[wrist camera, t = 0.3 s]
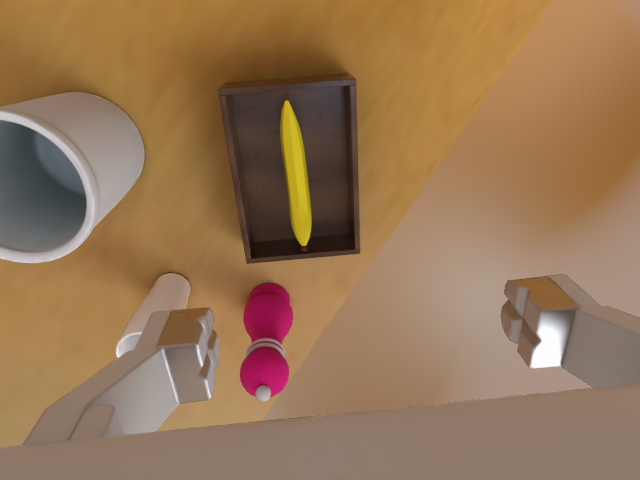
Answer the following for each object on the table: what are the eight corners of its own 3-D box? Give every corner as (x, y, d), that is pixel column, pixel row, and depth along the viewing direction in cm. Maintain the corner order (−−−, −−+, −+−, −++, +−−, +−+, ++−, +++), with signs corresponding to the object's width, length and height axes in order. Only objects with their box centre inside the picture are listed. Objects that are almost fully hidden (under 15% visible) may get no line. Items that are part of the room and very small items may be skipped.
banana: (298, 92, 53) (299, 100, 48) (313, 230, 62) (316, 250, 56) (274, 94, 53) (273, 103, 48) (293, 232, 62) (293, 253, 56)
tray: (224, 83, 53) (218, 89, 48) (349, 73, 53) (355, 78, 48) (249, 245, 63) (246, 263, 58) (354, 235, 63) (360, 253, 58)
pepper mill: (286, 275, 66) (286, 369, 48) (297, 313, 69) (300, 414, 51) (240, 285, 66) (222, 382, 48) (253, 322, 69) (241, 426, 51)
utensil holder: (0, 135, 54) (-118, 181, 38) (80, 57, 50) (-13, 72, 35) (95, 220, 60) (27, 289, 44) (173, 154, 56) (129, 205, 41)
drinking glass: (176, 259, 63) (146, 322, 50) (205, 291, 66) (184, 359, 52) (140, 281, 64) (102, 349, 51) (171, 312, 67) (142, 383, 54)
